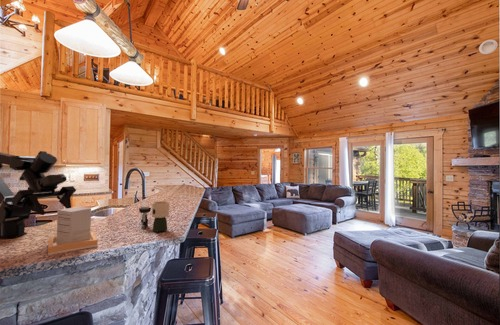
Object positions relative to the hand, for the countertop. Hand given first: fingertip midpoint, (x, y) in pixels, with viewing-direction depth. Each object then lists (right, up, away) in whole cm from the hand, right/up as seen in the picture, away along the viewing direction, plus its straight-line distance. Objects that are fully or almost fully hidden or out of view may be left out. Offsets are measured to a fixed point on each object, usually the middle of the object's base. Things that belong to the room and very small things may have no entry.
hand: (57, 211), depth 84 cm
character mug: (+31, -13, +18) cm, 38 cm away
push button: (+22, -13, +23) cm, 34 cm away
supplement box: (+7, -11, -2) cm, 14 cm away
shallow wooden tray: (+7, -12, -2) cm, 14 cm away
